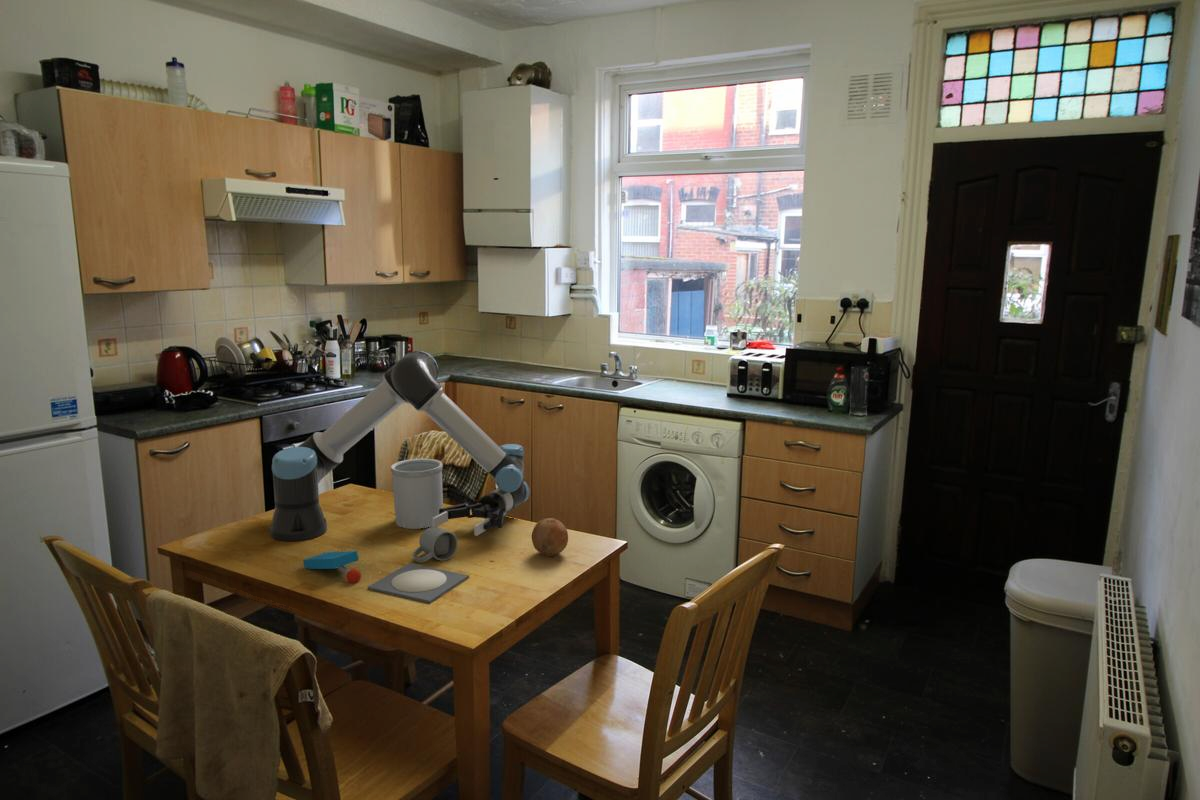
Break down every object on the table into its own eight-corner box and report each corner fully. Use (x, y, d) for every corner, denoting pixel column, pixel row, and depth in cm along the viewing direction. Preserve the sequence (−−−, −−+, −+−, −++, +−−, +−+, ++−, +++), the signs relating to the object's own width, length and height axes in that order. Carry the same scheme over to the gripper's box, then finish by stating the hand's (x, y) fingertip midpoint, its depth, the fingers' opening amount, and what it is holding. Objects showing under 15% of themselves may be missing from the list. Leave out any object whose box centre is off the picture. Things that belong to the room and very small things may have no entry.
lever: (308, 586, 198) (346, 587, 187) (302, 559, 198) (340, 558, 187) (332, 578, 204) (371, 578, 192) (327, 552, 204) (365, 550, 192)
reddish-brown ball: (569, 547, 214) (569, 512, 212) (566, 562, 204) (567, 525, 202) (533, 547, 214) (533, 512, 212) (529, 561, 204) (529, 524, 202)
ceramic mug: (441, 548, 212) (440, 521, 211) (458, 556, 207) (457, 528, 205) (406, 558, 205) (405, 531, 204) (423, 567, 200) (422, 539, 198)
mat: (367, 589, 186) (367, 585, 186) (409, 565, 201) (409, 562, 200) (430, 603, 179) (430, 600, 179) (469, 577, 193) (469, 574, 193)
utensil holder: (383, 527, 227) (381, 469, 224) (407, 511, 242) (405, 456, 238) (430, 532, 224) (429, 473, 221) (452, 515, 238) (450, 460, 235)
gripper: (532, 522, 227) (494, 547, 208) (459, 510, 237) (416, 533, 217) (532, 497, 225) (493, 520, 206) (458, 486, 235) (415, 507, 216)
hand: (454, 526), depth 212 cm, fingers open, 13 cm apart
